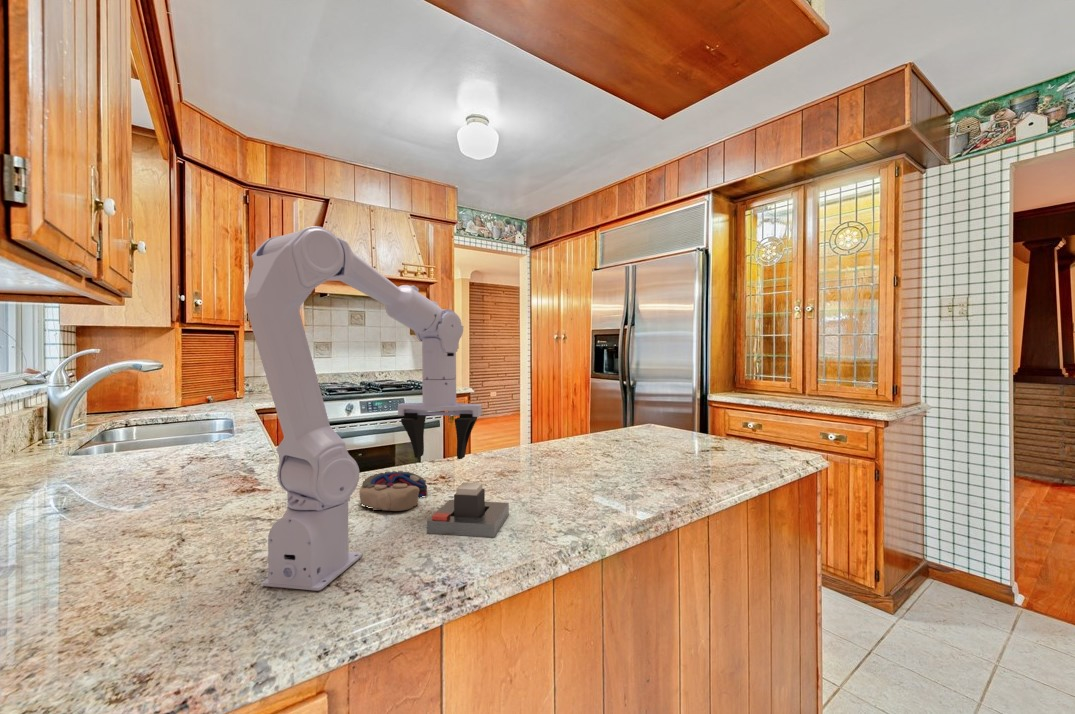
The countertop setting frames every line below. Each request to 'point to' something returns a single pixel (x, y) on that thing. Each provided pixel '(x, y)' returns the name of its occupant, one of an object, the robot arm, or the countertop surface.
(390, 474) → the anatomical model
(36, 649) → the countertop surface
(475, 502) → the plug
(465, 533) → the socket plate
